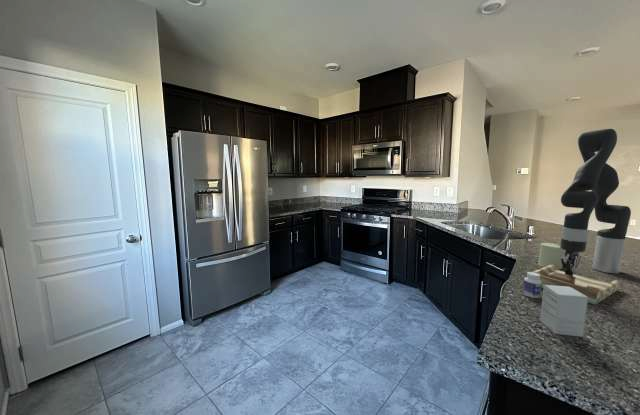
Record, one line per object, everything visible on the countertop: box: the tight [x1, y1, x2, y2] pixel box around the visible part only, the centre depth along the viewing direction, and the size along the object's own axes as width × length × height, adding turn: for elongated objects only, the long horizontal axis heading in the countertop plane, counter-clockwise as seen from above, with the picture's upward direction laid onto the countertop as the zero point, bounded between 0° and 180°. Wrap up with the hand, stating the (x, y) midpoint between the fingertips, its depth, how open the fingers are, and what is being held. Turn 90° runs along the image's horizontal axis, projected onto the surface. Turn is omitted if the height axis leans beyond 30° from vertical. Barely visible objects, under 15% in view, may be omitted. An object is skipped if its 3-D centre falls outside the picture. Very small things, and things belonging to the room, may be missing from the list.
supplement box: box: [539, 285, 588, 338], centre depth 78 cm, size 7×7×13 cm
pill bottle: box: [522, 271, 542, 299], centre depth 100 cm, size 5×5×9 cm
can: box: [537, 242, 565, 270], centre depth 132 cm, size 9×9×12 cm
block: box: [550, 272, 576, 284], centre depth 105 cm, size 6×6×4 cm
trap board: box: [525, 265, 620, 305], centre depth 109 cm, size 26×22×5 cm
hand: (568, 278), depth 107 cm, fingers closed
